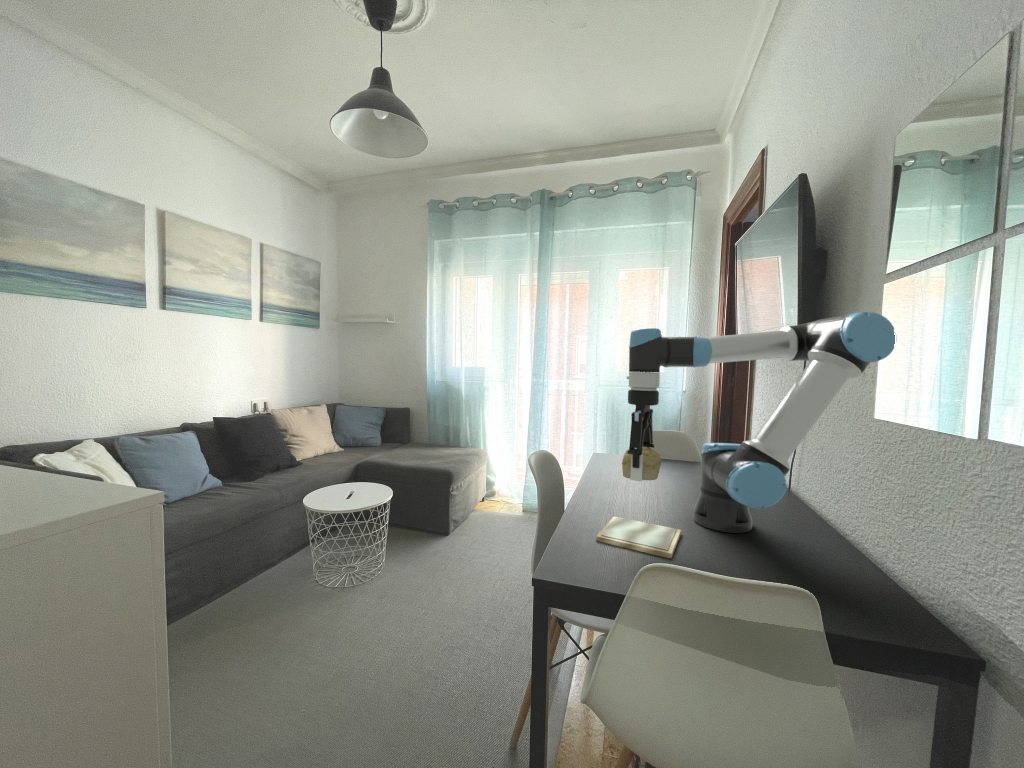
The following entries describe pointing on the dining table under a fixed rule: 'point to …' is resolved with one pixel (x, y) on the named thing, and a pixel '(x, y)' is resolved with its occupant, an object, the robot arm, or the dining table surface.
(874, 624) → the dining table surface
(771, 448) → the robot arm
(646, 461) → the decorative item
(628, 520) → the board
